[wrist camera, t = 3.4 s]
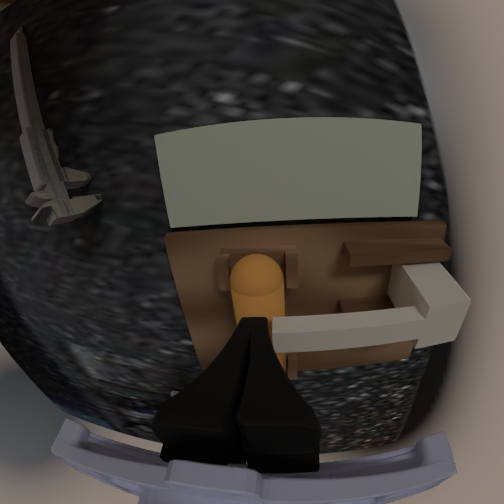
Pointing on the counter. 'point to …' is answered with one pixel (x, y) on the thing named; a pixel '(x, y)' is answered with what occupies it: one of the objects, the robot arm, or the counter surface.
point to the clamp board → (301, 278)
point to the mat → (290, 170)
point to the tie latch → (385, 315)
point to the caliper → (44, 150)
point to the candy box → (5, 3)
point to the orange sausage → (258, 291)
